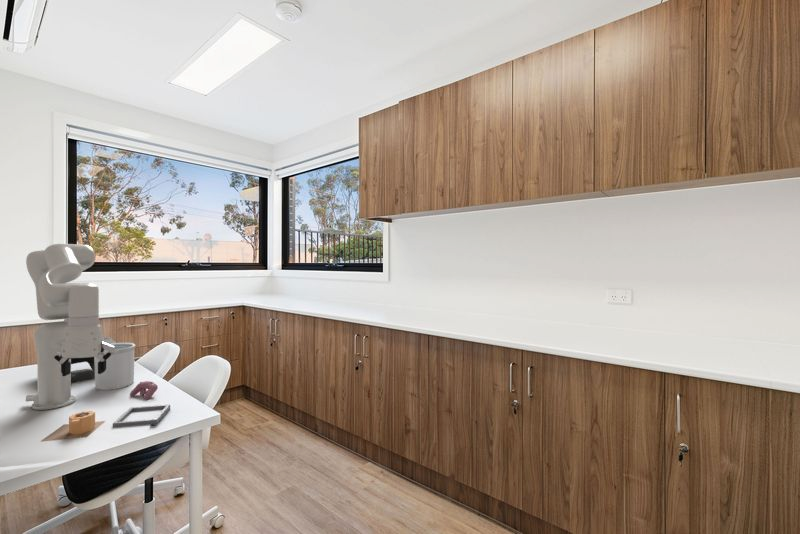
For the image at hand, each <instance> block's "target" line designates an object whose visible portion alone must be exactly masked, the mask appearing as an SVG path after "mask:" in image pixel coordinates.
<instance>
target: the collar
mask: <svg viewBox="0 0 800 534" xmlns="http://www.w3.org/2000/svg"><path fill="white" fill-rule="evenodd" d="M82 414H86V416H83V417H78V416H79V415H82ZM95 422H96V412H95V411H93V410H85V411H79V412H75V413H73V414H72V415H70V416H69V417H68V424H69V433H71V434H82V433H85V432H88V431H91V430H92V429H94V428H95Z"/></svg>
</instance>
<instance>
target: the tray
mask: <svg viewBox="0 0 800 534" xmlns="http://www.w3.org/2000/svg"><path fill="white" fill-rule="evenodd" d="M157 410H161V411H160V412H159V413H158V414H157V416H156V417H155V418H150V419H149V418H147V419H136V420H126V421H124V420H125V419H126V418H128V417H129V416H130V414H132V413H133V412H142V411H157ZM170 410H171V404H157V405H156V404H155V405H146V406H145V405H144V406H130V407H129V408H128V409H127V410H126V411H125V412H124V413H123V414H121V415H120V416H119V417H118V418H117V419H116V420H115V421H114V422H113V423H112V428H119V427H120V428H121V427H130V426H140V425H142V426H143V425H149V426H150V427H153V426H158V425H159V424H160V422H161V421H162V420H163V419H164V417H165V416H166V415H167V414H168V411H169V412H170Z"/></svg>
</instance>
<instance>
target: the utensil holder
mask: <svg viewBox="0 0 800 534" xmlns="http://www.w3.org/2000/svg"><path fill="white" fill-rule="evenodd" d="M110 345H113V346H115V347H116V348H115V350H114V352H113V354H112V355H111V356H110V357H109V358H108V359H107V360H106V370H105V372H103V373H101V374H98V362H99V361H100V360H99V359H98V358H96V357H94V362H95V379H94V384H95V389H97V390H99V389H100V391H109V390H110V389H111V390H116V389H117V388H118V389H121V387H122V388H125V386H126V387H128V386H130V385H133V383H134V382H135V381H134V380H135V348H136V344H135V343H134V342H116V343H113V344H110ZM107 352H108V349H106V348H104V352H103V353H104V354H107ZM127 385H128V386H127Z"/></svg>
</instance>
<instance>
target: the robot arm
mask: <svg viewBox="0 0 800 534" xmlns="http://www.w3.org/2000/svg"><path fill="white" fill-rule="evenodd" d="M25 261H26V262H25V263H26V264H25V265H26V269H27V271H28V274H29V276H30V278H31V280H32V282H33V284H34V286H35V295H36V296H35V297H36V307H37V309H36V310H37V314H38V317H39V318H40V319H41V320H45V321H53V320H54V321H56V320H63V321H58V322H50V323H49V322H48V323H45V324H41V325H39V326H38V327H36V328H35V330H34V332H33V339H34V342H35V349H36V356H37V362H36V364H37V371H36V373H37V380H36V381H37V382H36V383H37V393H36V394H26V396H25V402H33V403H32V404H31V409H32V410H36V411H45V410H46V411H47V410H53V409H58V408H62V407H65V406H68V405H71V404H73V403H74V402H76V400H77V396H76V395H73V394H72V383H71V371H72V364H71V358H86V357H96V358H98V359H99V360H100V361H99V362H98V374H101V373H103V372H105V370H106V360H107V359H108V358H109V357H110V356H111V355H112V354H113V352H114V350H115V348H116V347H115V346H113V345H110V344H107V343H105V342H104V332H103V327H102V325H101V324H99V323H100V322H99V321H100V320H99V319H100V316H99V315H100V311H99V310H100V309H99V308H100V306H99V304H100V300H99V299H100V297H99V296H100V295H99V294H100V293H99V286H98V285H96V284H94V283H92V282H73V281H75V280H77V279H78V278H79V277H80V276H82V275H81V274H82V273H83V272H84V271H86V270H87V269H89V268H91V267H92V266H93V265H94V264H95V261H96V252H95V250H94V248H92V247H91V246H89V245H88V244H79V243H77V244H76V243H75V244H74V243H54V244H51V245H48V246H47V247H46V248H44V250H41V249H40V250H33V251H31V252H30V253H28V254H27V256H26V259H25ZM104 348H106V349H108V352H107V354H104V353H103V352H104Z"/></svg>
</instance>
